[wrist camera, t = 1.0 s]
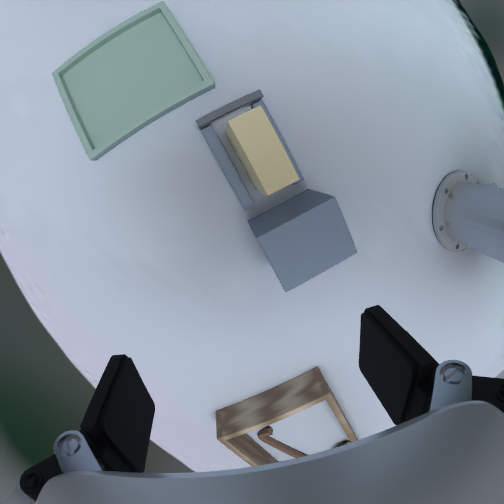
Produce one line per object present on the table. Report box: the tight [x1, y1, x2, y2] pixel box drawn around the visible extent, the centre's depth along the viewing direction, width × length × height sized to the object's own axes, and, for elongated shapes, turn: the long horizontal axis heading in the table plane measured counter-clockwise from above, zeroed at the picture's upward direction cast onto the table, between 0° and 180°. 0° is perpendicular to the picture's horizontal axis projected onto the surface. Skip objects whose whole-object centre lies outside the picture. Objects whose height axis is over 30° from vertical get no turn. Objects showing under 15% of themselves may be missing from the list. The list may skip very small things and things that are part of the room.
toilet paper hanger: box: [258, 428, 352, 458], centre depth 45 cm, size 25×9×8 cm, turn 41°
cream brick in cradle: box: [226, 105, 300, 196], centre depth 26 cm, size 3×7×9 cm, turn 28°
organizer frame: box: [216, 367, 358, 467], centre depth 43 cm, size 18×34×6 cm, turn 28°
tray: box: [52, 1, 215, 160], centre depth 25 cm, size 16×14×2 cm
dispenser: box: [196, 90, 357, 292], centre depth 28 cm, size 8×18×8 cm, turn 28°
